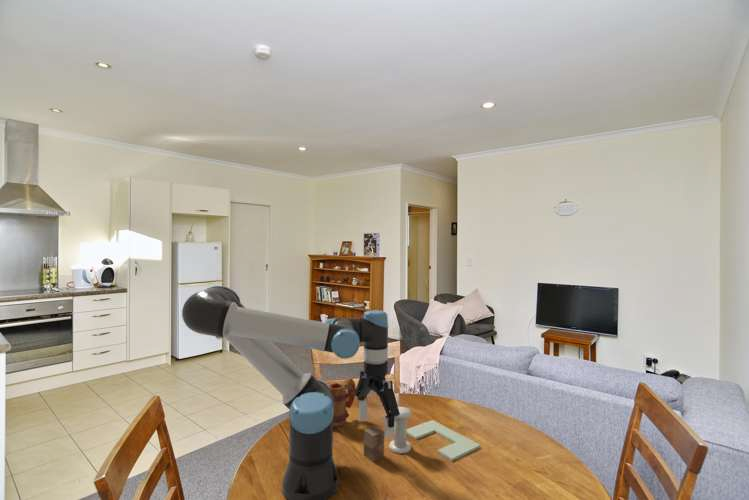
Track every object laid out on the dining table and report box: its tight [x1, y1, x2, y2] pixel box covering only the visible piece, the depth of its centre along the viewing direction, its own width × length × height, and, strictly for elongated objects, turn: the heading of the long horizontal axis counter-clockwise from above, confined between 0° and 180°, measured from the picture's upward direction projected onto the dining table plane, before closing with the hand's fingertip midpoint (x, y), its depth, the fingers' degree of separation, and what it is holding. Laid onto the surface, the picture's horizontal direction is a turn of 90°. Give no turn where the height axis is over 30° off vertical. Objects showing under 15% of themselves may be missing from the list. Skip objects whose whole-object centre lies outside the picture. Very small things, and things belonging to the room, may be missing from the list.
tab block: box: [363, 425, 385, 463], centre depth 118 cm, size 4×4×8 cm
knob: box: [388, 406, 413, 455], centre depth 123 cm, size 7×7×12 cm
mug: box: [328, 377, 357, 427], centre depth 141 cm, size 15×8×15 cm, turn 143°
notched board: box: [407, 419, 481, 462], centre depth 129 cm, size 14×22×1 cm, turn 37°
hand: (375, 428), depth 118 cm, fingers open, 13 cm apart
